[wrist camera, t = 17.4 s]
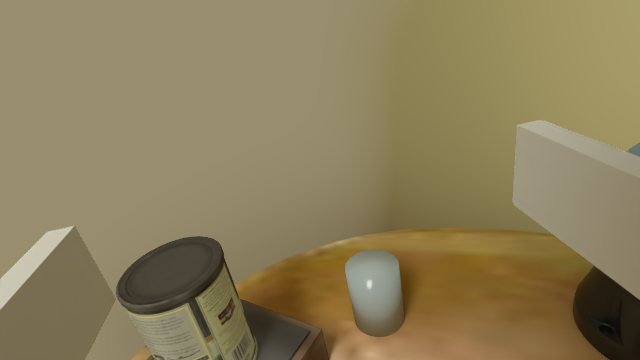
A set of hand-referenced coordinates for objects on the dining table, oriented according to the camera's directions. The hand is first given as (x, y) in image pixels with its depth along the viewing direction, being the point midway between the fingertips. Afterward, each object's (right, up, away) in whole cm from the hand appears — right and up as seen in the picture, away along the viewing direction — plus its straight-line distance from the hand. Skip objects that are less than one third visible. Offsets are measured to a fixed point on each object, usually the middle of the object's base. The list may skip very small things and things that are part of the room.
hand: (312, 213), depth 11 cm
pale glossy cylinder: (+9, -18, +40) cm, 45 cm away
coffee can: (-12, -20, +31) cm, 39 cm away
